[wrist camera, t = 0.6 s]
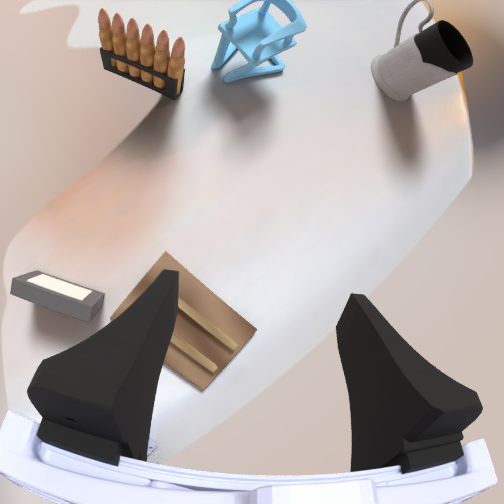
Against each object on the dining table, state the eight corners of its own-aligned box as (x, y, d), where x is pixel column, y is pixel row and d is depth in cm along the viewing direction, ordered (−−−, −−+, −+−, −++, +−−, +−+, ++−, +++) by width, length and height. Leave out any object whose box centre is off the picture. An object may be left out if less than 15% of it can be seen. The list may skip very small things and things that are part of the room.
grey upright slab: (101, 306, 33) (89, 322, 27) (34, 283, 31) (10, 293, 24) (104, 292, 33) (92, 305, 27) (37, 269, 31) (12, 277, 24)
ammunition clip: (183, 88, 34) (195, 34, 23) (175, 100, 34) (184, 48, 23) (111, 57, 31) (100, 0, 20) (103, 68, 31) (88, 13, 20)
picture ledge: (202, 386, 37) (204, 393, 35) (111, 316, 34) (108, 321, 32) (254, 327, 38) (259, 332, 36) (165, 251, 35) (166, 252, 33)
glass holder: (379, 99, 42) (448, 64, 27) (355, 25, 40) (410, -20, 26) (416, 103, 44) (482, 77, 30) (393, 34, 43) (448, -2, 28)
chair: (199, 54, 34) (216, -3, 23) (249, 30, 36) (278, -23, 24) (236, 97, 36) (266, 49, 25) (284, 69, 37) (324, 23, 26)
